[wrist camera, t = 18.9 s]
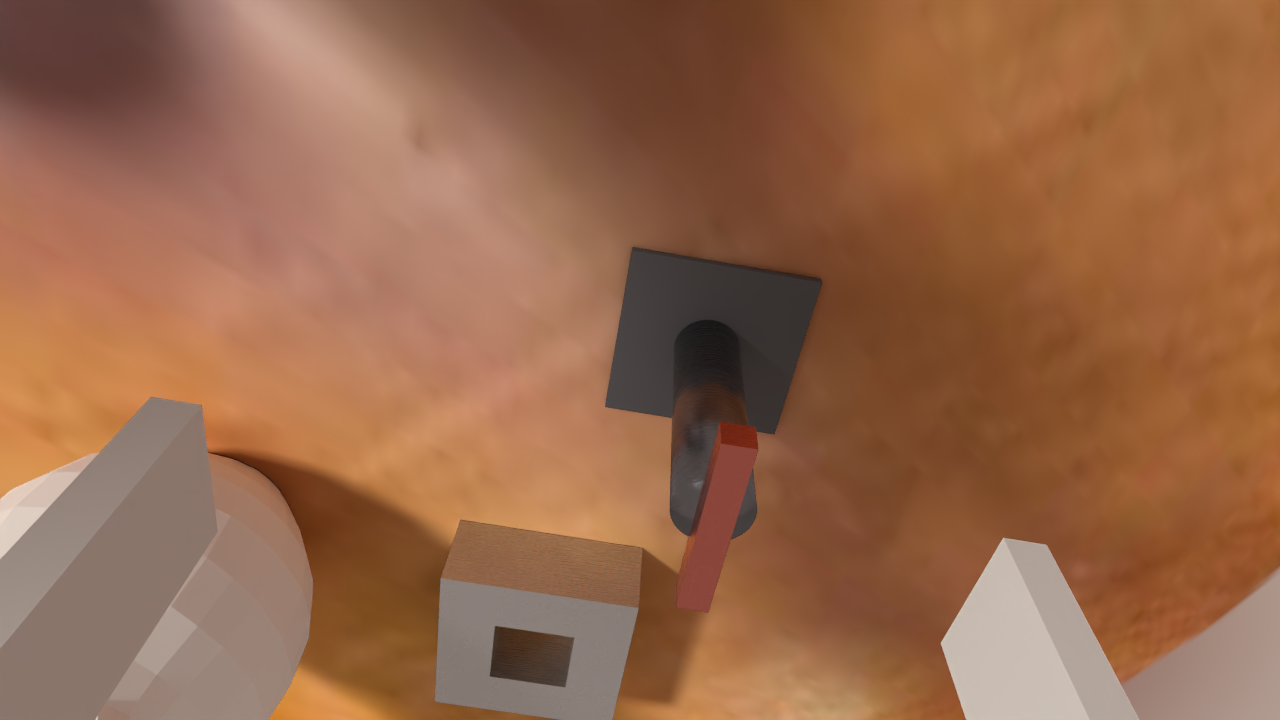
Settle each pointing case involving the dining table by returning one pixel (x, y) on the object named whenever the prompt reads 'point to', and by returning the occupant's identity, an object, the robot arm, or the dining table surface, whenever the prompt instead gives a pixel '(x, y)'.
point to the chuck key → (709, 456)
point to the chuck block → (535, 622)
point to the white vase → (210, 604)
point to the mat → (708, 290)
